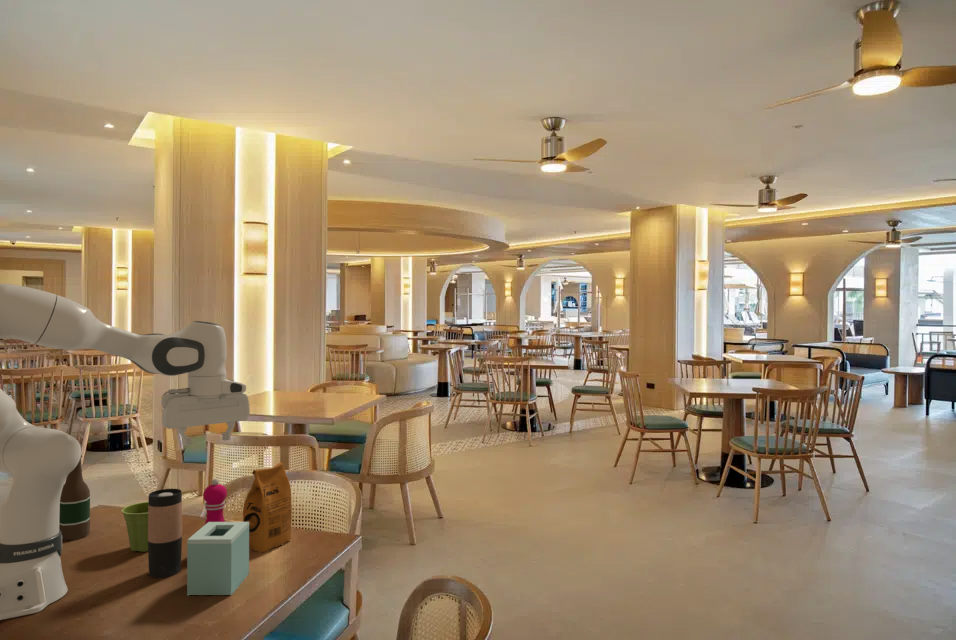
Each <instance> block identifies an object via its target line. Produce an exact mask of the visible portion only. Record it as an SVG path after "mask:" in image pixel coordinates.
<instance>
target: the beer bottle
mask: <svg viewBox="0 0 956 640" xmlns="http://www.w3.org/2000/svg"><path fill="white" fill-rule="evenodd" d="M82 458H83V455H82V454H81V458H80V460H79V463H78V464H77V466H76V467H75V468H74V469H73V470H72V471H71V472H70V473H69V474H68V476H67V478H66V480H65V483H64V486H63V489H62V493H61V497H60V515H59V530H60V531H61V535H62V541H63V540H70V541H76V540H75V539H77V540H79V538H81V539H84V538H86V537H87V536H89V534H90V530H91V494H90V493H91V492H90V491H91V490H90V488H89V487H88V485H87V483H86V482H85V481H84V477H83V471H82V470H83V467H82ZM83 537H84V538H83Z"/></svg>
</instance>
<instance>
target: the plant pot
mask: <svg viewBox="0 0 956 640" xmlns="http://www.w3.org/2000/svg"><path fill="white" fill-rule="evenodd" d="M121 513H122V514H123V518H124V520H125V524H126V529H127V534H128V535H127V537H128V540H129V541H128V542H129V547H130V550H131V552H137V551H138V552H142V553H143V552H148V501H144V502H143V501H142V502H138V503H133V504H129V505H127V506H124V507H123V508H122V509H121Z"/></svg>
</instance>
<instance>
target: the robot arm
mask: <svg viewBox="0 0 956 640" xmlns="http://www.w3.org/2000/svg"><path fill="white" fill-rule="evenodd" d="M2 339H14V340H19V341H23V342H27V343H30V344H33V345H38V346H41V347H46V348H51V349H57V350H66V351H67V350H68V351H75V350H82V349H84V350H85V349H87V350H95V351H99V352H102V353H106V354H108V355H112V356H115V357H119V358H124V359H127V360H129V361H130V362H132V363H133V364H134V365H136V367H138V368H139V369H140V370H142V371H144V372H146V373H148V374H152V375H161V376H166V377H167V376H168V377H175V376H179V375H183V374H184V375H185V374H187V387H186V388H185V387H184V388H177V389H176V388H175V389H174V388H172V389H168V390H167V391H165V392H164V393H163V394H162V395H161V406H162V412H161V413H162V414H161V425H162V426H163V427H164V428H165V429H169V430H170V429H171V430H172V429H177V432H178V434H179V435H180V437H181V438H182V445H183V446H185V447H186V446H191V445H192V437H191V436H187V434H186V433H185V432H187V429H188V428H189V427H198V426H206V425H207V426H208V425H215V424H225V423H226V426H227V428H226V430H225V432H222V433H221V435H222V436H221V440H222V441H231V433H232V432H233V430H234V429H235V426H236V423H237V422H245V421H247V420H248V419H249V418H250V411H251V410H250V400H249V396H248V394H246V393H245V392H246V391H247V385H246V384H244V383H242V382H238V381H235V380H233V379H228V378H227V373H228V372H227V369H226V360H227V357H228V356H227V355H228V353H227V352H228V351H227V349H228V348H227V347H228V346H227V337H226V331H225V328H224V327H223V326H222V325H220V324H218V323H214V322H211V321H210V322H209V321H201V320H194V321H192V322H191V323H190V324H188V325H187V326H186V327H183V328H182V329H179V330H177V331H175V332H172V333H170V334H164V333H158V332H157V333H156V332H155V333H146V334H141V333H140V334H139V333H134V332H132V331H128V330H125V329H122V328H119V327H117V326H114V325H113V326H112V325H109V324H107V323H105V322H103V321H101V320H100V319H98V318H97V317H96V316H95V314H94V313H93V312H92V310H91V309H90V308H89V307H86V306H85V305H83V304H80V302H79V303H78V302H76V301H74V300H73V299H69V298H67V297H64V296H62V295H59V294H55V293H53V292H49V291H45V290H42V289H38V288H34V287H33V288H32V287H28V286H24V285H18V284H13V283H12V284H11V283H0V340H2ZM16 403H17V402H16V401H15V400H14V399H13V398H12V397H11V396H10V395H9V394H7V393H6V392H5V391H4V390H3V389H1V388H0V473H4V474H9V475H12V482H11V488H10V490H9V493H8V496H7V497H6V498H5V499H4V500H2V502H1V504H0V621H2V620H7V619H12V618H17V617H22V616H27V615H32V614H36V613H39V612H41V611H43V609H45V608H46V607H47V606H48V605H51V604H52V603H54V602H57V601H58V600H59V599H61V598H63V597H64V596H65V595H66V594H67V592H68V586H67V583H66V581H65V576H64V573H63V568H62V567H63V566H62V560H61V556H62V551H63V540H62V535H61V531H60V530H59V515H60V497H61V493H62V489H63V486H64V484H65V482H66V478H67V476H68V474H69V473H70V472H71V471H72V470H73V469H74V468H75V467H76V466H77V464H78V463H79V460H80V458H81V459H82V457H81V455H82V446H81V443H80V442H79V441H78V439H77V438H75V437H74V436H72V435H70V434H68V433H67V432H65V431H62V430H60V429H55V428H48V427H40V426H38V425H35V424H31V423H30V422H28V421H27V420H26V419H25V418H24V417H23V416H22V415H21V413H20V412H19V411H18V408H17V404H16Z"/></svg>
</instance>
